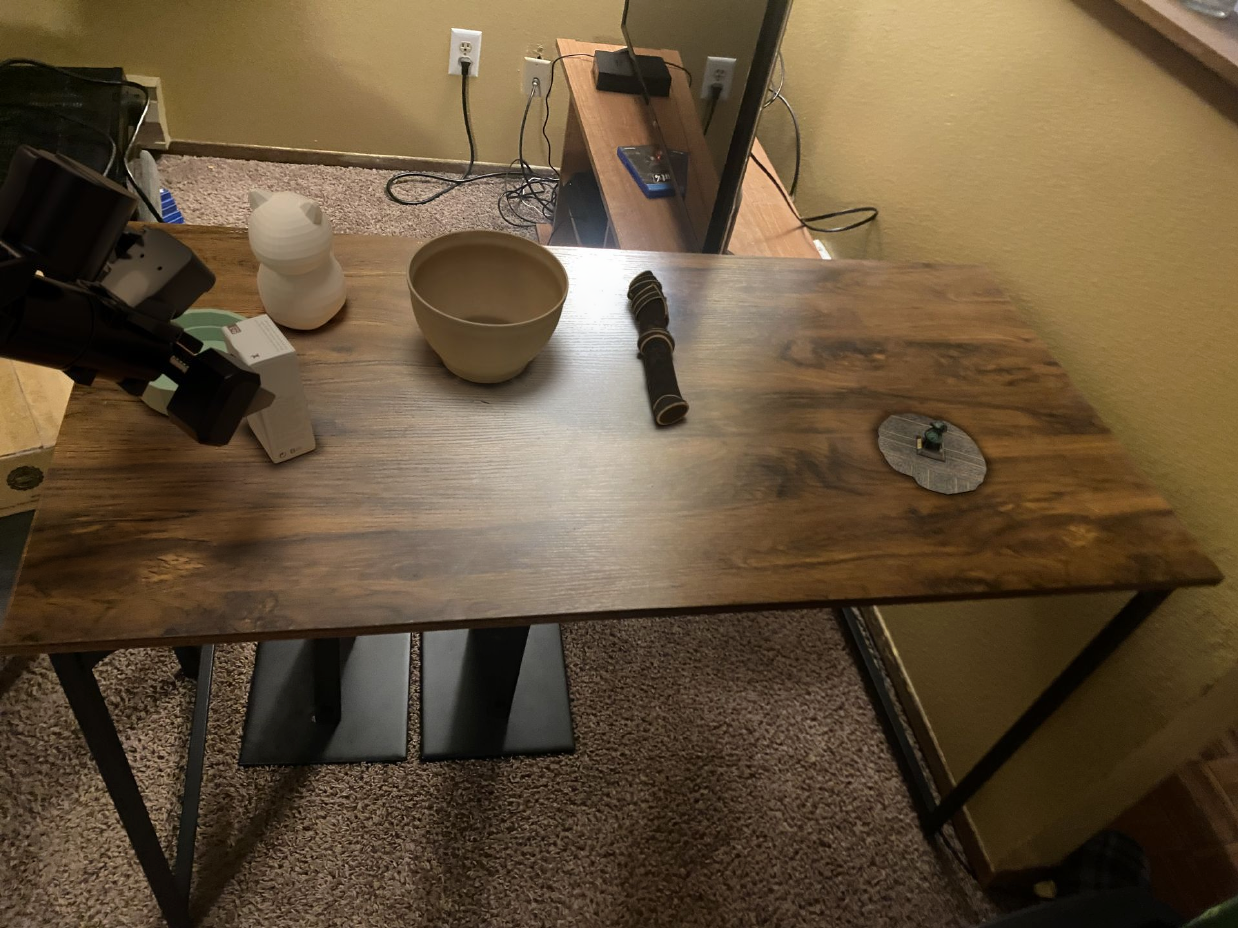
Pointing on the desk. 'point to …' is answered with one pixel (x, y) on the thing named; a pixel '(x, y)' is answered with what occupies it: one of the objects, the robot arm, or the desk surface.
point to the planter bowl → (486, 300)
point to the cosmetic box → (274, 387)
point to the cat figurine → (295, 259)
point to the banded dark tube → (657, 347)
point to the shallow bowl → (209, 332)
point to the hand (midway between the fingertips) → (235, 373)
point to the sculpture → (932, 453)
